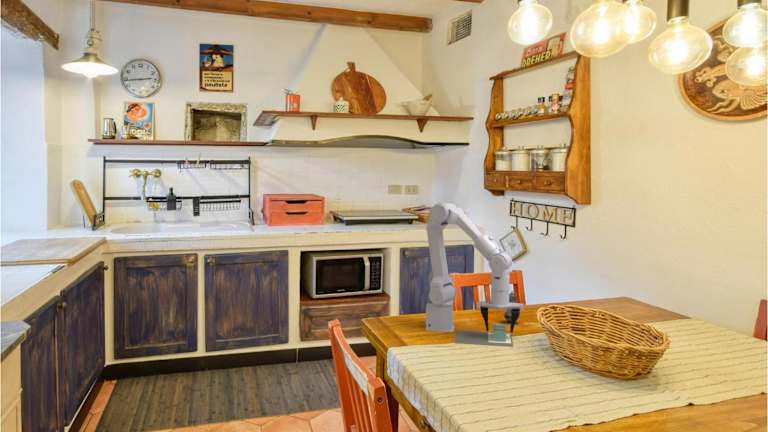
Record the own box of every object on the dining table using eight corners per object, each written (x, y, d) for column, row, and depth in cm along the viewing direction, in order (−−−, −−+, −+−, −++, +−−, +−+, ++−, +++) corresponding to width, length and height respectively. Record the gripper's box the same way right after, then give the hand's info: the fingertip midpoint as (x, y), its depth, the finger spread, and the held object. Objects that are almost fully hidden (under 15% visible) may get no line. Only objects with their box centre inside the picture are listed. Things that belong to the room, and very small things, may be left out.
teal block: (492, 333, 165) (492, 323, 165) (505, 334, 164) (505, 324, 164) (492, 341, 157) (493, 330, 157) (505, 342, 157) (506, 331, 156)
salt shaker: (513, 326, 175) (513, 293, 175) (499, 323, 180) (500, 290, 179) (523, 323, 179) (523, 291, 178) (509, 320, 184) (510, 288, 183)
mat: (454, 344, 156) (454, 342, 156) (456, 331, 170) (456, 329, 169) (513, 348, 152) (513, 346, 152) (510, 335, 166) (510, 332, 166)
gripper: (477, 291, 157) (476, 333, 158) (524, 293, 155) (523, 336, 155) (477, 286, 164) (476, 327, 165) (522, 288, 161) (521, 329, 162)
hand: (499, 331), depth 161 cm, fingers open, 7 cm apart
